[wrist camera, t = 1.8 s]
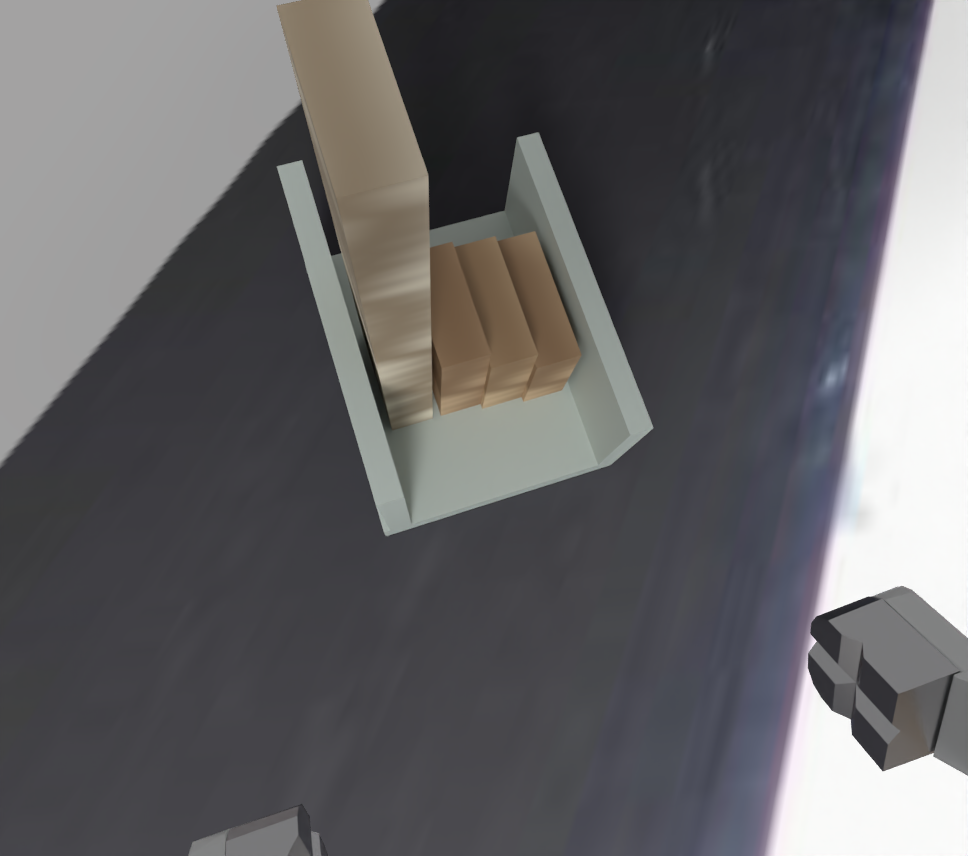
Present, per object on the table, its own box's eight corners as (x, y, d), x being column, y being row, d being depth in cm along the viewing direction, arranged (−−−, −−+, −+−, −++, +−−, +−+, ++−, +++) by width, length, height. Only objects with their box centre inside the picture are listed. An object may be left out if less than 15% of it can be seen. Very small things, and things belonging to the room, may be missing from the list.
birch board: (402, 324, 36) (363, -13, 17) (432, 418, 35) (428, 175, 16) (363, 335, 36) (276, 5, 16) (392, 430, 35) (336, 198, 15)
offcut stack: (522, 281, 37) (541, 206, 30) (562, 390, 36) (591, 337, 29) (407, 312, 36) (400, 243, 29) (443, 425, 35) (445, 380, 28)
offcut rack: (519, 220, 39) (545, 101, 30) (610, 465, 36) (668, 414, 27) (309, 276, 38) (269, 168, 29) (386, 536, 35) (368, 508, 26)
